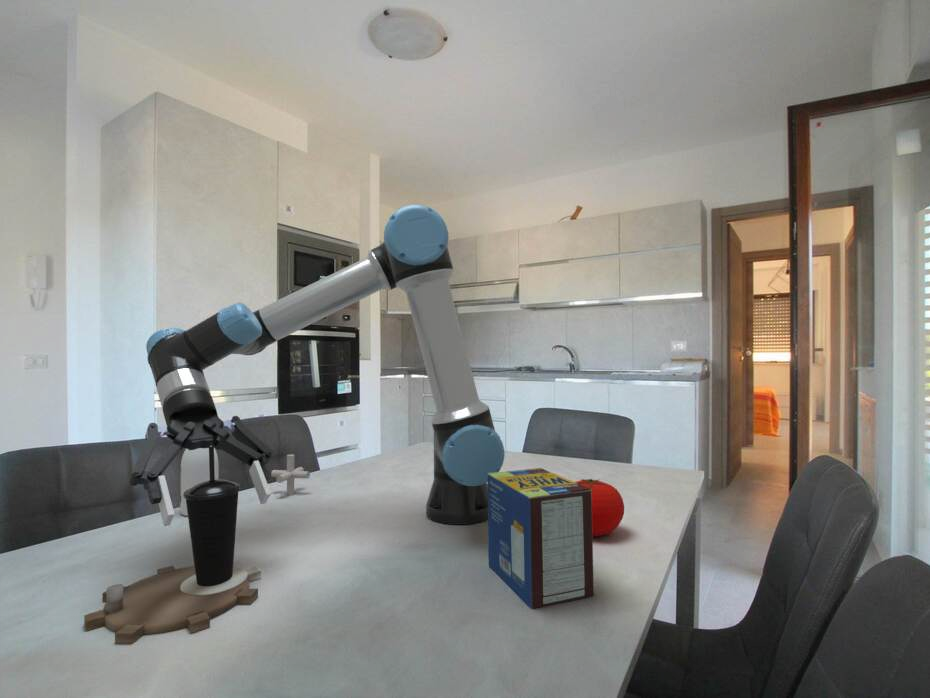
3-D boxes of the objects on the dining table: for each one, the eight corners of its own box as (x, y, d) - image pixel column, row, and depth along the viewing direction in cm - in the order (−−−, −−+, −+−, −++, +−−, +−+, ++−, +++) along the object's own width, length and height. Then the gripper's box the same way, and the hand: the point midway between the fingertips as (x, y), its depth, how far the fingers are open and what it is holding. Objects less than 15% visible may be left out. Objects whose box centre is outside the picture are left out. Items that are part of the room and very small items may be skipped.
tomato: (573, 519, 103) (572, 470, 104) (629, 528, 98) (628, 476, 98) (554, 537, 93) (553, 482, 93) (616, 548, 87) (615, 490, 88)
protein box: (542, 556, 84) (541, 467, 84) (595, 596, 70) (593, 488, 70) (486, 565, 80) (485, 472, 81) (530, 610, 66) (529, 496, 66)
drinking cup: (204, 596, 68) (200, 454, 68) (175, 583, 72) (171, 449, 72) (253, 574, 74) (249, 444, 74) (224, 563, 78) (220, 440, 78)
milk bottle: (226, 508, 113) (226, 423, 113) (195, 518, 106) (195, 427, 106) (203, 505, 116) (203, 421, 116) (172, 514, 109) (172, 425, 109)
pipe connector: (297, 500, 119) (297, 459, 119) (261, 498, 121) (261, 458, 121) (317, 489, 129) (317, 452, 129) (284, 488, 131) (284, 451, 131)
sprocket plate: (286, 568, 80) (286, 542, 80) (210, 645, 58) (210, 610, 58) (159, 566, 81) (159, 541, 81) (38, 641, 59) (38, 607, 60)
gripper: (253, 410, 93) (291, 504, 82) (92, 423, 75) (114, 546, 64) (266, 383, 90) (307, 478, 79) (100, 390, 71) (124, 514, 61)
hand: (221, 509), depth 72 cm, fingers open, 13 cm apart
